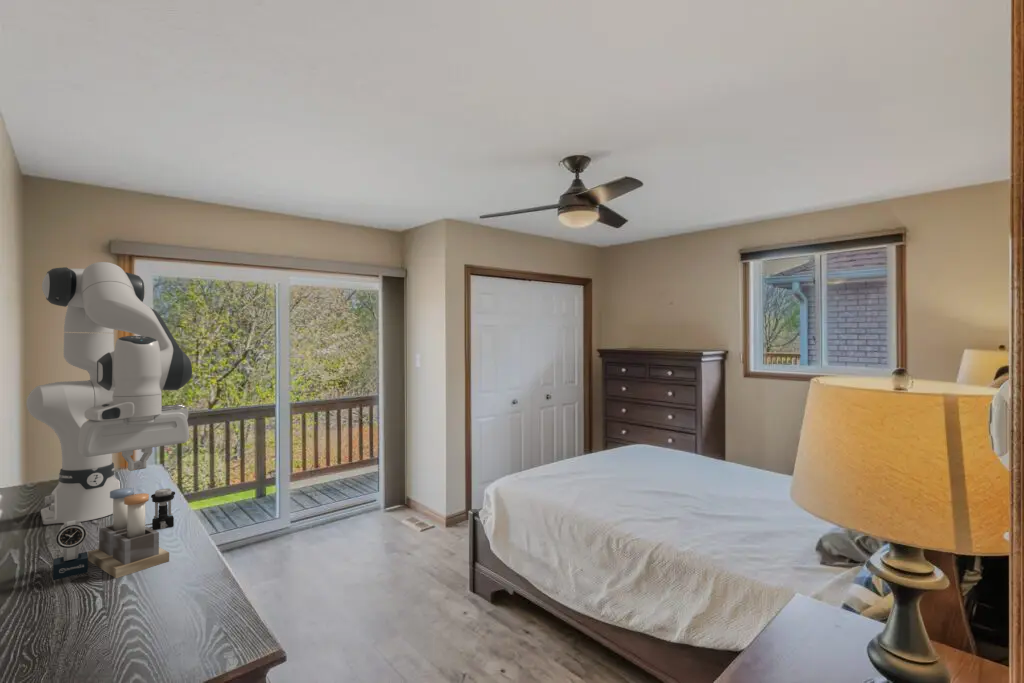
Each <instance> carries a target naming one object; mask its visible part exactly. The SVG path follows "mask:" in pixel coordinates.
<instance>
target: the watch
mask: <svg viewBox="0 0 1024 683" xmlns="http://www.w3.org/2000/svg"><path fill="white" fill-rule="evenodd" d="M81 522H82V521H81ZM81 522H78V520H74V521H69V522H64V523H63V525H61V526H60V529H59V531H58V532H57V533H56V536H55V543H56V545H57V547H58V549H59V551H60V553H61V554H63V556H61V557H56V558H53V563H52V564H53V565H52V566H53V567H52V568H53V569H52V571H53V572H52V580H53V581H57V580H60V579H65V578H69V577H74V576H77V575H82V574H85V573H88V572H89V561H88V551H84V552H79V550H82V547H83V545H84V541H85V539H86V537H88V536H90V533H89V531H88V532H87V530H86V528H85V527H84V526H83V524H82V523H81Z"/></svg>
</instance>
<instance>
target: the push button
mask: <svg viewBox="0 0 1024 683" xmlns="http://www.w3.org/2000/svg"><path fill="white" fill-rule="evenodd" d="M175 495H176V492H175V491H172V489H171V488H161V489H157V490H155V491H154V493H153V494H151V495H150V498H151V501H152V502H153V503H154V515H153V518H152V521H151V523H147V524H146V523H145V527H148V526H149V528H151V529H153V530H155V531H157V530H161V529H167V528H173V527H174V524H175V519H174V518H175V517H174V515H173V513H172V500H173V499H175Z"/></svg>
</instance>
